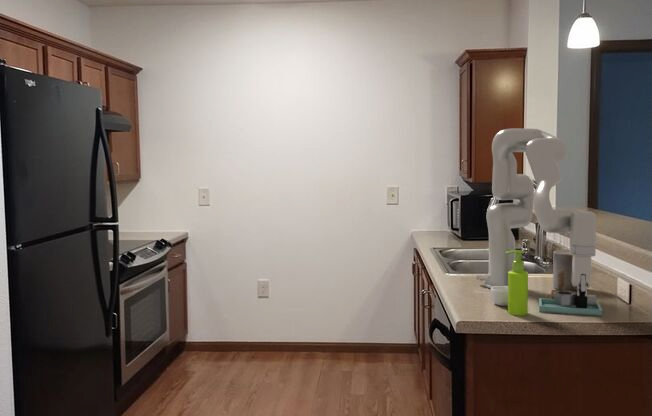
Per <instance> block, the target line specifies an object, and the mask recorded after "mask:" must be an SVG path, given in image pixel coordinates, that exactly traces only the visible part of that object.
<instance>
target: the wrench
mask: <svg viewBox="0 0 652 416" xmlns="http://www.w3.org/2000/svg"><path fill="white" fill-rule="evenodd" d="M576 296H577V294H576V291H561V290H560V291H554V304H556V305H560V306H575V305H576ZM596 302H597V296H596V294H587V304H592V305H596Z"/></svg>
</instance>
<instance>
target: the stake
mask: <svg viewBox="0 0 652 416" xmlns="http://www.w3.org/2000/svg"><path fill="white" fill-rule="evenodd" d="M564 279H565V270H564V269H558V289H551V292H550V293H551V295H549V294H548V295H547V299H554V291H560V290H561V291H567V290H564Z"/></svg>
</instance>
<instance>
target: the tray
mask: <svg viewBox="0 0 652 416" xmlns="http://www.w3.org/2000/svg"><path fill="white" fill-rule="evenodd" d="M538 308H539V313H551V314H564V315H565V314H566V315H576V316H577V315H581V316H591V315H593V316H595V317H603V308H602V306H601V305H600V302H599V301H596V305H592V304H587V309H585V308H576V305H575V306H560V305H556V304H554V299H548V298H543V297H541V298H540V297H538ZM593 316H592V317H593Z"/></svg>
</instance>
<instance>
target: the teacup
mask: <svg viewBox="0 0 652 416" xmlns="http://www.w3.org/2000/svg"><path fill="white" fill-rule="evenodd" d="M490 296H491V297H490V298H491V299H492V302H493V303H494V304H495V305H496V306H501V307H508V286H493V287H491V288H490Z"/></svg>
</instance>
